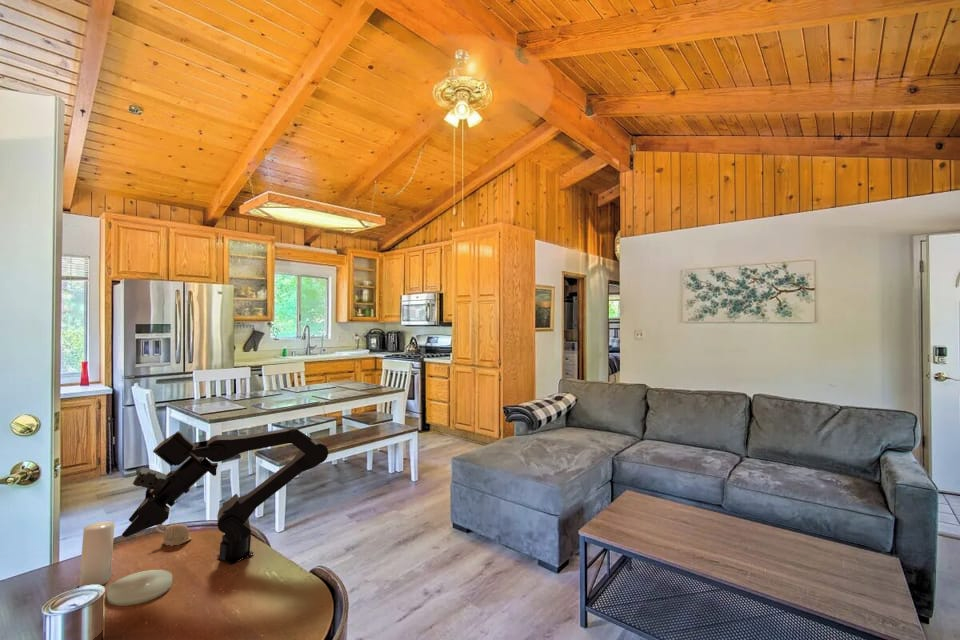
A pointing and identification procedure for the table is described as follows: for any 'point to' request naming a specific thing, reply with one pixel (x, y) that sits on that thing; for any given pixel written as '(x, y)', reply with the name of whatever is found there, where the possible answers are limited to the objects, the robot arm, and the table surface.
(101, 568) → the tall beige pillar
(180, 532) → the decorative ornament
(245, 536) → the robot arm
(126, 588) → the sage dish
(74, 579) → the table surface
